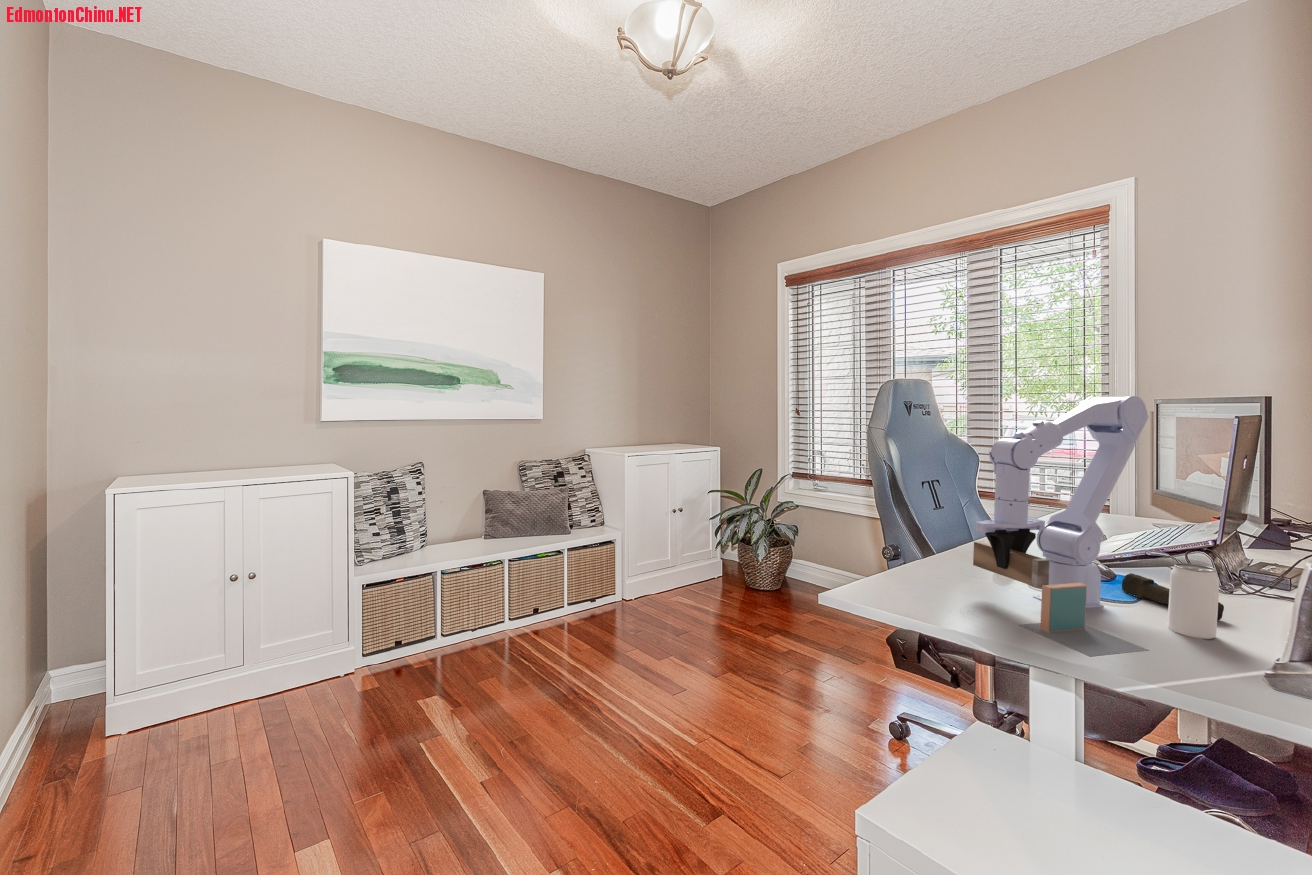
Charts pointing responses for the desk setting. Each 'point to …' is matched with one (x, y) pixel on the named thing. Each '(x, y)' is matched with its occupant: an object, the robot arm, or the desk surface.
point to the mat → (1088, 641)
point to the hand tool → (1152, 590)
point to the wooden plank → (1013, 565)
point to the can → (1193, 600)
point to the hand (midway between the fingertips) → (1008, 567)
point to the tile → (1063, 607)
